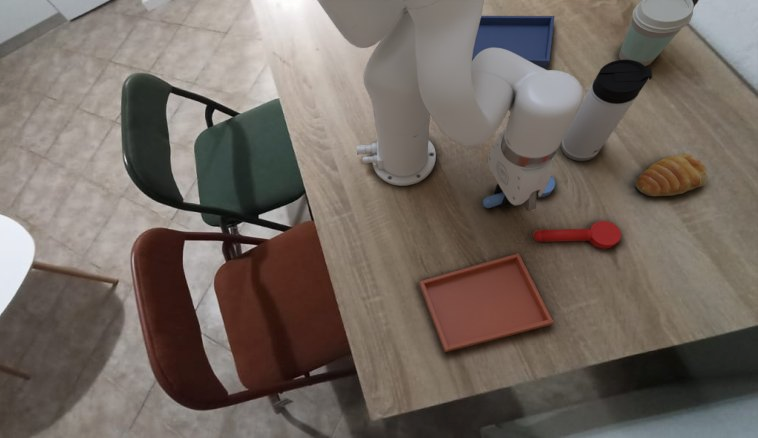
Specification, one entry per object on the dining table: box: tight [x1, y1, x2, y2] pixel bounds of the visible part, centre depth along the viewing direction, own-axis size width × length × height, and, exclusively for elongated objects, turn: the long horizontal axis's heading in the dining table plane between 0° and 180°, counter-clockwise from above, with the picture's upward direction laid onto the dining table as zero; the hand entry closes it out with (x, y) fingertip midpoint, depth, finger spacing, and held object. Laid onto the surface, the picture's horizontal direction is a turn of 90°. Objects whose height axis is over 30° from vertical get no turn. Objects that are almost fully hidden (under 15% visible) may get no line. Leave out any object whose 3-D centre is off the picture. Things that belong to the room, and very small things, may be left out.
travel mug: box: [560, 59, 653, 162], centre depth 73 cm, size 6×7×20 cm
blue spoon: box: [482, 175, 556, 209], centre depth 81 cm, size 13×4×2 cm, turn 105°
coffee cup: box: [618, 0, 695, 67], centre depth 81 cm, size 8×8×12 cm
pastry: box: [635, 153, 708, 197], centre depth 74 cm, size 9×7×4 cm
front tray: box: [419, 252, 554, 353], centre depth 74 cm, size 17×12×2 cm
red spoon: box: [532, 220, 622, 249], centre depth 75 cm, size 13×4×2 cm, turn 85°
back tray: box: [472, 15, 555, 70], centre depth 94 cm, size 17×12×2 cm
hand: (506, 197), depth 81 cm, fingers closed on blue spoon, 2 cm apart
